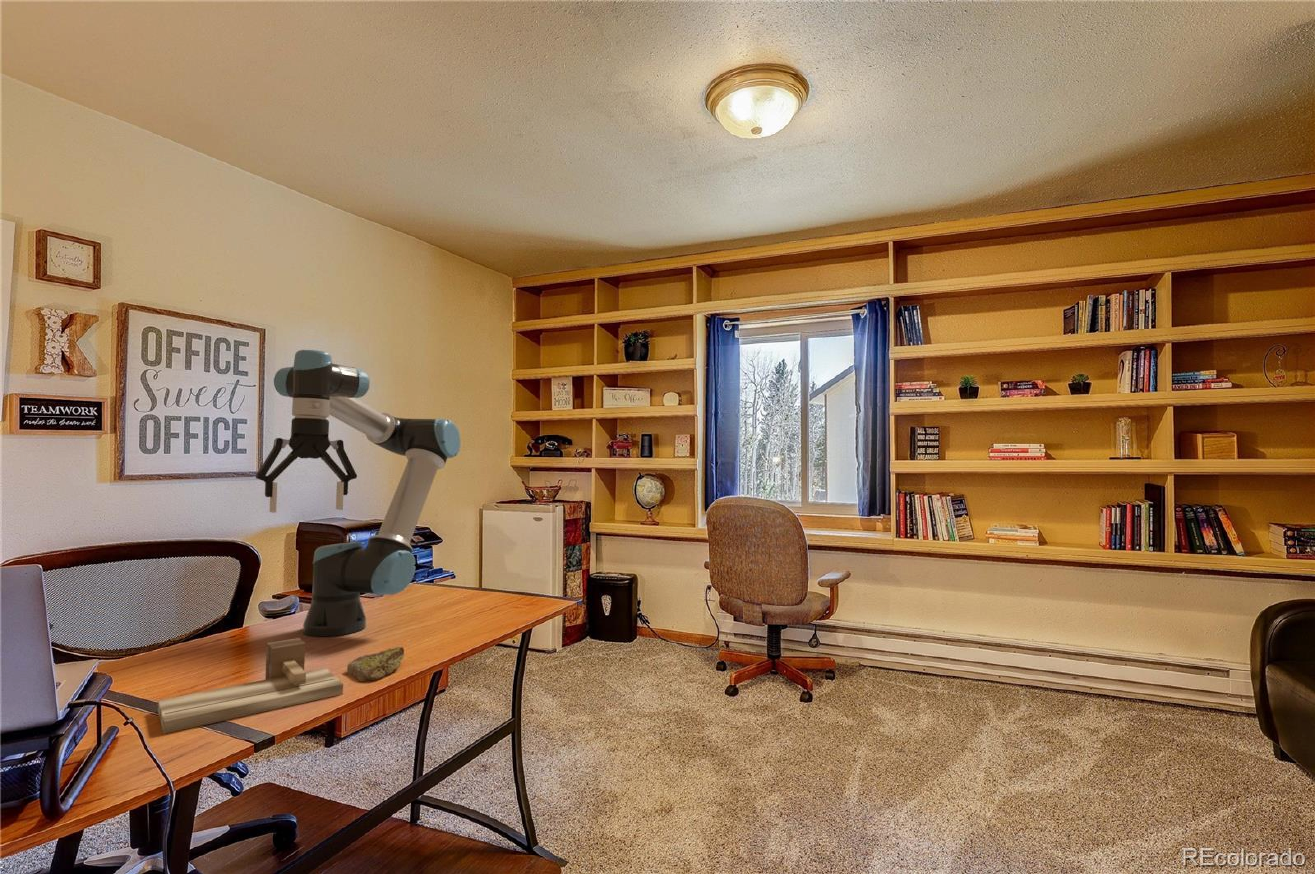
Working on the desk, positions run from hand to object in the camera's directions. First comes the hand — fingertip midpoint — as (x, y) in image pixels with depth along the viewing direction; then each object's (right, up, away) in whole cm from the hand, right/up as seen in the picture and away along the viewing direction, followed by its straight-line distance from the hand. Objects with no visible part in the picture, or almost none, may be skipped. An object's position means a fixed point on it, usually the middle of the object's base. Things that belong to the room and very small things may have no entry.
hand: (307, 510), depth 141 cm
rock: (+17, -35, -5) cm, 40 cm away
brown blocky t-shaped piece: (+6, -34, -16) cm, 38 cm away
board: (+3, -34, -23) cm, 41 cm away
